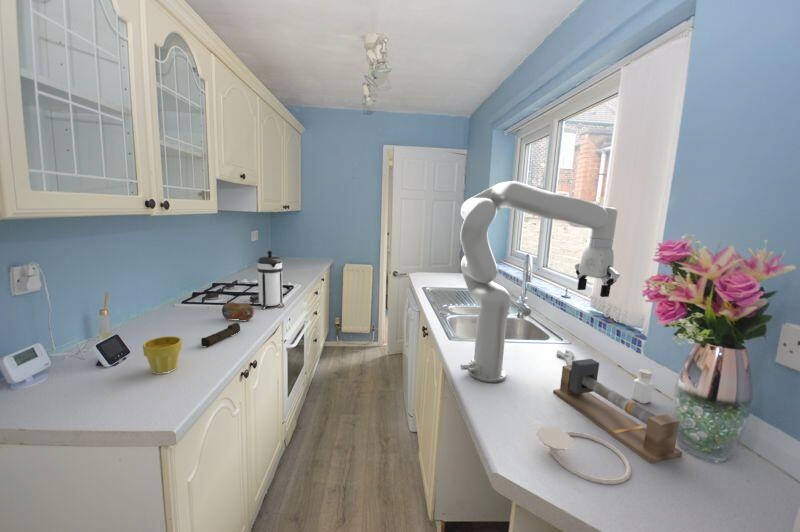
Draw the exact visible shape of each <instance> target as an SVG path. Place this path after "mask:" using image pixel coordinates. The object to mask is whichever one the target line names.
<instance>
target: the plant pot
mask: <svg viewBox="0 0 800 532" xmlns="http://www.w3.org/2000/svg"><path fill="white" fill-rule="evenodd" d="M182 342H183V341H182V338H180V337H179V336H174V335H170V336H169V335H168V336H166V335H165V336H160V337H154V338H151V339H149V340H147V341H145V342H144V343H143V345H142V350H143V356H145V358H147V362H148V364H149V367H150V370H151V372H155V373H163V372H168V371H171V370H173V369H175V368H176V369H177V366H178V361H179V356H180V351H182V348H183V345H182ZM176 369H175V370H176Z"/></svg>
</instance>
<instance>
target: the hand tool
mask: <svg viewBox="0 0 800 532" xmlns="http://www.w3.org/2000/svg"><path fill="white" fill-rule="evenodd" d="M239 331H240V332H241V326H240V323H238V322H234V323H231V324H229V325H227V327H226V328H224V329H223V330H219V331H218V332H215V333H213V334H211V335H208V336H206V337H202V338H201V340H200V341H201V345H202V347H203V346H207V347H206V348H210V346H213V344H216V343H218V342H219V341H222V340H224V339H226V338H228V337H232V336H231V335H234V334H236V333H237V334H239V333H240V332H239ZM238 332H239V333H238ZM237 334H236V335H237ZM234 336H235V335H234Z"/></svg>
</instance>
